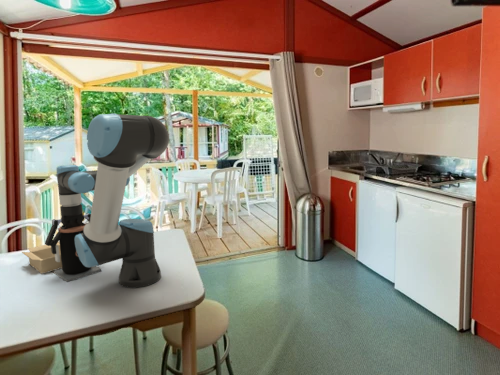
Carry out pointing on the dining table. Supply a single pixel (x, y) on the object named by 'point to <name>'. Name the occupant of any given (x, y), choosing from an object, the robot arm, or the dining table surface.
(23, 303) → the dining table surface
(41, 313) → the dining table surface
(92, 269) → the plate
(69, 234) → the coffee jar
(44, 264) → the carton
